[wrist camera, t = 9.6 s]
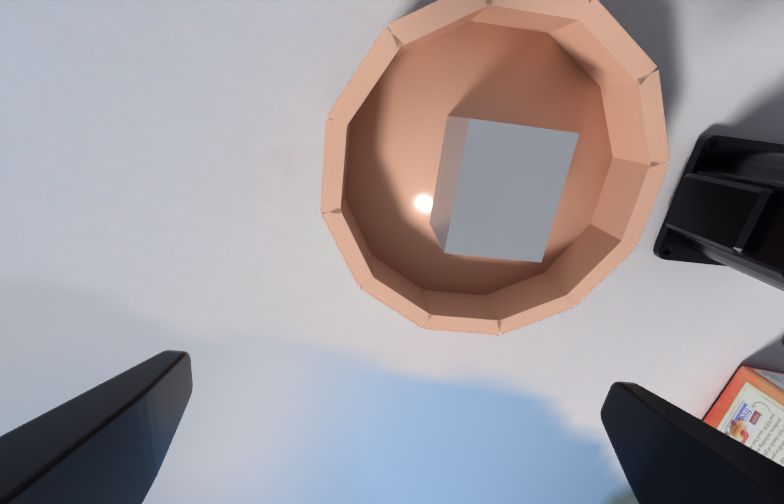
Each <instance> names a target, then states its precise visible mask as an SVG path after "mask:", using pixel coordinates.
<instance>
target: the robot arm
mask: <svg viewBox="0 0 784 504" xmlns="http://www.w3.org/2000/svg"><path fill="white" fill-rule="evenodd" d="M710 142H711V145H710V147H709V149H707V147H708V144H709V143H710ZM666 247H667V249H666V250H665V251H664V252H663V250H664V249H665V248H666ZM653 252H654V254H655V255H656V256H657V257H659V258H661V259H665V260H674V261H684V262H693V263H703V264H713V265H722V266H729V267H731V268H733V269H736V270H738V271H740V272H742V273H744V274H747V275H749V276H751V277H753V278H756V279H758V280H760V281H762V282H765V283H767V284H769V285H771V286H774V287H776V288H778V289H780V290H783V291H784V145H781V144H774V143H767V142H760V141H753V140H746V139H739V138H732V137H725V136H718V135H705V136H703V137H702V138H701V139H699V141H698V142H697V144H696V146H695V149H694V151H693V154H692V156H691V158H690V161H689V163H688V166H687V168H686V171H685V173H684V175H683V178H682V180H681V183H680V185H679V188H678V190H677V193H676V195H675V197H674V200H673V202H672V205H671V207H670V210H669V212H668V214H667V217H666V219H665V222H664V224H663V227H662V229H661V231H660V234H659V236H658V239H657V241H656V244H655V246H654V250H653ZM781 343H782V344H783V345H784V335H783V337H782V340H781ZM192 386H193V385H192V372H191V360H190V355H189V353H187V352H184V351H172V350H166V351H164V352H161V353H159V354H157V355H155V356H154V357H152V358H150V359H148V360H146V361H144V362H142V363H140V364H138V365H136V366H135V367H132V368H131V369H129V370H127V371H125V372H123V373H121V374H119V375H117V376H115V377H113V378H112V379H110V380H108V381H106V382H104V383H102V384H100V385H98V386H96V387H94V388H92V389H90V390H88V391H87V392H85V393H83V394H81V395H79V396H77V397H75V398H73V399H71V400H69V401H67V402H66V403H64V404H62V405H60V406H58V407H56V408H54V409H52V410H50V411H48V412H46V413H44V414H42V415H41V416H39V417H37V418H35V419H33V420H31V421H29V422H27V423H25V424H23V425H22V426H19V427H18V428H16V429H14V430H12V431H10V432H8V433H6V434H4V435H2V436H0V504H142V502H143V501H144V499H145V496H146V495H147V493H148V491H149V490H150V488H151V486H152V483H153V482H154V480H155V478H156V476H157V474H158V472H159V469H160V467H161V465H162V463H163V460H164V458H165V456H166V453H167V451H168V449H169V446H170V444H171V442H172V439H173V437H174V434H175V432H176V430H177V427H178V425H179V422H180V420H181V418H182V415H183V413H184V411H185V408H186V406H187V403H188V401H189V399H190V396H191V393H192ZM601 420H602V423H603V425H604V427H605V430H606V432H607V434H608V437H609V439H610V441H611V444H612V446H613V448H614V450H615V453H616V455H617V457H618V460H619V462H620V464H621V466H622V469H623V471H624V473H625V476H626V478H627V480H628V482H629V485H630V487H631V489H632V491H633V493H634V495H635V497H636V499H637V501H638V503H639V504H784V467H783V466H782V465H780V464H778V463H776V462H774V461H773V460H771V459H769V458H767V457H766V456H764V455H762V454H760V453H758V452H757V451H755V450H753V449H751V448H750V447H748V446H746V445H744V444H742V443H741V442H739V441H737V440H735V439H734V438H732V437H730V436H728V435H726V434H725V433H723V432H721V431H719V430H718V429H716V428H714V427H712V426H711V425H709V424H707V423H705V422H703V421H702V420H700V419H698V418H696V417H695V416H693V415H691V414H689V413H687V412H686V411H684V410H682V409H680V408H679V407H677V406H675V405H673V404H671V403H670V402H668V401H666V400H664V399H663V398H661V397H659V396H657V395H655V394H654V393H652V392H650V391H648V390H647V389H645V388H643V387H641V386H639V385H638V384H635V383H631V382H615V383H614V384H613V385H612V386H611V388H610V390H609V392H608V395H607V397H606V399H605V401H604V404H603V406H602V409H601Z"/></svg>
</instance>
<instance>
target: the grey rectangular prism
mask: <svg viewBox="0 0 784 504" xmlns="http://www.w3.org/2000/svg"><path fill="white" fill-rule="evenodd" d="M579 134H580V133H574V132H567V131H559V130H552V129H545V128H537V127H530V126H523V125H515V124H508V123H501V122H493V121H486V120H478V119H471V118H462V117H453V116H447V121H446V127H445V133H444V139H443V145H442V151H441V157H440V163H439V168H438V174H437V180H436V186H435V192H434V198H433V204H432V210H431V216H430V222H429V224H430V226H431V228H432V230H433V232H434V234H435V236H436V237H437V239H438V241H439V243H440V245H441V247H442V249H443V251H444V253H449V254H460V255H470V256H480V257H490V258H500V259H510V260H520V261H530V262H540V263H541V262H542V259H543V256H544V252H545V249H546V245H547V242H548V239H549V235H550V232H551V229H552V225H553V222H554V218H555V215H556V212H557V208H558V205H559V202H560V198H561V195H562V191H563V188H564V185H565V181H566V178H567V175H568V171H569V168H570V164H571V161H572V158H573V154H574V151H575V147H576V144H577V141H578V137H579Z"/></svg>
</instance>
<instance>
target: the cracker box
mask: <svg viewBox="0 0 784 504" xmlns="http://www.w3.org/2000/svg"><path fill="white" fill-rule="evenodd" d="M703 422H705V423H707V424H709V425H711V426H712V427H714V428H716V429H718V430H719V431H721V432H723V433H725V434H726V435H728V436H730V437H732V438H734V439H735V440H737V441H739V442H741V443H742V444H744V445H746V446H748V447H750V448H751V449H753V450H755V451H757V452H758V453H760V454H762V455H764V456H766V457H767V458H769V459H771V460H773V461H774V462H776V463H778V464H780V465H782V466H783V467H784V373H780V372H775V371H769V370H763V369H758V368H752V367H747V366H741V367H740V368H739V369H738V371H737V372H736V374H735V375H734V377H733V378H732V380H731V381H730V383H729V384H728V386H727V387H726V389H725V390H724V392H723V393H722V395H721V396H720V397H719V399H718V400H717V402H716V403H715V405H714V406H713V407H712V409H711V410H710V412H709V413H708V415H707V416H706V418H705V419H704V421H703Z"/></svg>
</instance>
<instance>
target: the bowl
mask: <svg viewBox="0 0 784 504" xmlns="http://www.w3.org/2000/svg"><path fill="white" fill-rule="evenodd" d="M656 67H657V66H656V65H655V63H654V62H653V61H652V60H651V59H650V58H649V57H648V56H647V54H646V53H645V52H644V51H643V50H642V49H641V48H640V47H639V45H638V44H637V43H636V42H635V41H634V40H633V39H632V38H631V37H630V35H629V34H628V33H627V32H626V31H625V30H624V29H623V28H622V26H621V25H620V24H619V23H618V22H617V21H616V20H615V19H614V17H613V16H612V15H611V14H610V13H609V12H608V11H607V10H606V9H605V7H604V6H603V5H602V4H601V3H600V2H599V1H598V0H438V1H436V2H434V3H431V4H429V5H427V6H425V7H423V8H421V9H419V10H417V11H415V12H413V13H410V14H408V15H406V16H404V17H402V18H400V19H398V20H396V21H394V22H392V23H389V24H388V28H384V29H383V31H382V32H381V34H380V35H379V37H378V38H377V40H376V41H375V43H374V44H373V46H372V48H371V49H370V51H369V52H368V54H367V55H366V57H365V58H364V60H363V61H362V63H361V64H360V66H359V67H358V69H357V70H356V72H355V73H354V75H353V76H352V78H351V80H350V81H349V83H348V84H347V86H346V87H345V89H344V90H343V92H342V93H341V95H340V96H339V98H338V99H337V101H336V102H335V104H334V105H333V107H332V109H331V110H330V112H329V113H328V116H329V117H330V118H328V119H326V127H325V144H324V161H323V178H322V196H321V212H322V217H323V219H324V221H325V223H326V225H327V227H328V229H329V231H330V233H331V235H332V237H333V239H334V241H335V243H336V245H337V246H338V248H339V250H340V252H341V254H342V256H343V258H344V260H345V262H346V264H347V266H348V268H349V270H350V272H351V274H352V276H353V278H354V280H355V281H356V283H357V285H358V286H360V289H361V290H363V291H365V292H366V293H368V294H369V295H371V296H372V297H374V298H376V299H377V300H379V301H380V302H382V303H383V304H385V305H387V306H388V307H390V308H391V309H393V310H394V311H396V312H397V313H399V314H401V315H402V316H404V317H405V318H407V319H408V320H410V321H412V322H413V323H415V324H416V325H418V326H419V327H421V328H423V327H425V329H429V330H441V331H454V332H466V333H479V334H492V335H498V334H499V332H500V333H501V335H502V334H504V333H507V332H510V331H512V330H515V329H518V328H520V327H523V326H526V325H528V324H531V323H534V322H536V321H539V320H542V319H544V318H547V317H550V316H552V315H555V314H558V313H560V312H563V311H566V310H568V309H571V308H573V304H574V305H576V306H577V305H578V304H579V303H580V302H581V301H582V300H583V299H584V298H585V297H586V296H587V295H588V294H589V293H590V292H591V291H592V290H593V289H594V288H595V287H596V286H597V285H598V284H599V283H600V282H601V281H602V280H603V279H604V278H605V277H606V276H607V275H609V274H610V273H611V272H612V271H613V270H614V269H615V268H616V267H617V266H618V265H619V264H620V263H621V262H622V261H623V260H624V259H625V258H626V257H627V256H628V255H629V254H630V253H631V252H632V251H633V250H634V249H635V248H634V247H633V246H632V245H636V246H637V245H638V243H639V240H640V238H641V235H642V232H643V230H644V227H645V225H646V222H647V220H648V217H649V215H650V212H651V210H652V207H653V204H654V202H655V199H656V197H657V194H658V192H659V189H660V187H661V184H662V182H663V179H664V176H665V174H666V171H667V169H668V166H669V164H667V163H665V162H667V161H670V157H669V149H668V141H667V133H666V125H665V116H664V108H663V100H662V92H661V84H660V76H659V70H655V69H656ZM654 70H655V71H654ZM447 116H453V117H462V118H471V119H478V120H486V121H493V122H501V123H508V124H515V125H523V126H530V127H537V128H545V129H552V130H559V131H567V132H574V133H580V134H579V137H578V141H577V144H576V147H575V151H574V154H573V158H572V161H571V164H570V168H569V171H568V175H567V178H566V181H565V185H564V188H563V191H562V195H561V198H560V202H559V205H558V208H557V212H556V215H555V218H554V222H553V225H552V229H551V232H550V235H549V239H548V242H547V245H546V249H545V252H544V256H543V259H542V262H541V263H540V262H530V261H520V260H510V259H500V258H490V257H480V256H470V255H460V254H449V253H444V251H443V249H442V247H441V245H440V243H439V241H438V239H437V237H436V236H435V234H434V232H433V230H432V228H431V226H430V224H429V222H430V216H431V210H432V204H433V198H434V192H435V186H436V180H437V174H438V168H439V163H440V157H441V151H442V145H443V139H444V133H445V127H446V121H447ZM572 303H573V304H572Z"/></svg>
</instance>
